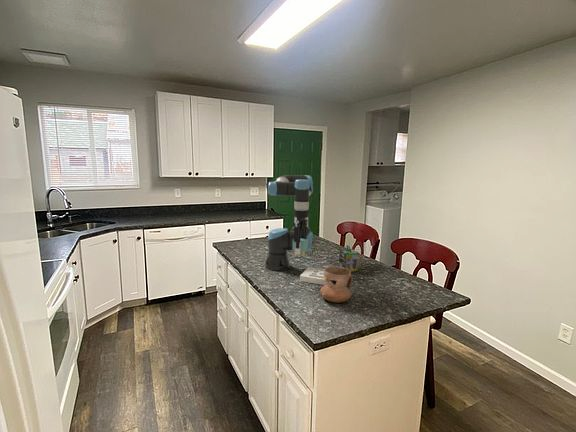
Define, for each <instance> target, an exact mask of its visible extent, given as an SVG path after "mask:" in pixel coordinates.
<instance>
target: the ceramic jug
mask: <svg viewBox="0 0 576 432" xmlns="http://www.w3.org/2000/svg"><path fill="white" fill-rule="evenodd" d="M323 269H324V275H325V278H323V279H321V281H322V282H325V281H326V282H327V284H326V285H322V287H321V288H320V291H319V292H320V295H321V297H322V298H323V299H324V300H326V301H328V302H331V303H337V304H339V303H340V304H341V303H344V302H348V301H350V299H351V298H352V291H351V290H350V287H351V285H352V282H353V276H352V272H351V271H350V270H349V269H347V268H344V267H339V265H332V266H331V265H330V266H329V267H326V266H325V267H324V268H323Z"/></svg>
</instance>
